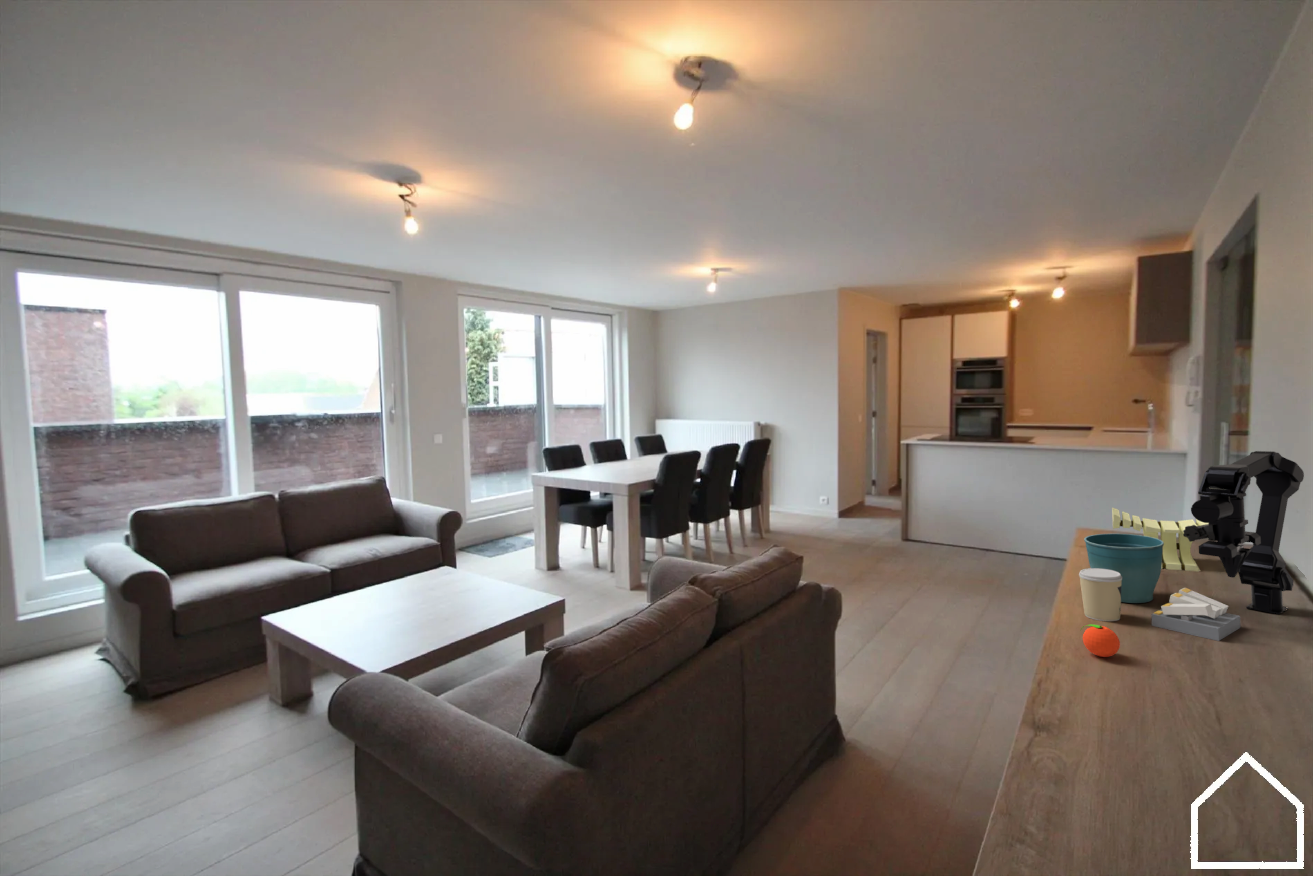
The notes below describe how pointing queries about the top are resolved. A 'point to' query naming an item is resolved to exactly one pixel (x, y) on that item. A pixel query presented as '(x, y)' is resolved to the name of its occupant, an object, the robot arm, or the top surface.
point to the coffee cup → (1101, 593)
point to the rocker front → (1187, 609)
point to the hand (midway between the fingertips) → (1231, 577)
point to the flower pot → (1128, 562)
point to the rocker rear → (1204, 599)
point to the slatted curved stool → (1163, 538)
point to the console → (1198, 624)
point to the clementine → (1101, 640)
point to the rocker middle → (1182, 599)
